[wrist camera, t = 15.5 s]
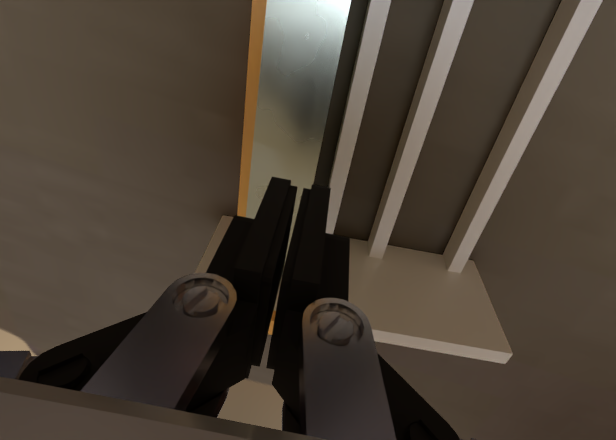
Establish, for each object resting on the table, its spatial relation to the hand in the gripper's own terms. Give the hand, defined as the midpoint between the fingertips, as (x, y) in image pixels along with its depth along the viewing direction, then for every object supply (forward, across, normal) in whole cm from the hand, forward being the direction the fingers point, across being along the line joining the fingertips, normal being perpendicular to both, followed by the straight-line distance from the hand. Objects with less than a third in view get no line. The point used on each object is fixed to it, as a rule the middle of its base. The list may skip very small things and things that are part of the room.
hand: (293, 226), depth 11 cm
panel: (+11, +1, -1) cm, 11 cm away
